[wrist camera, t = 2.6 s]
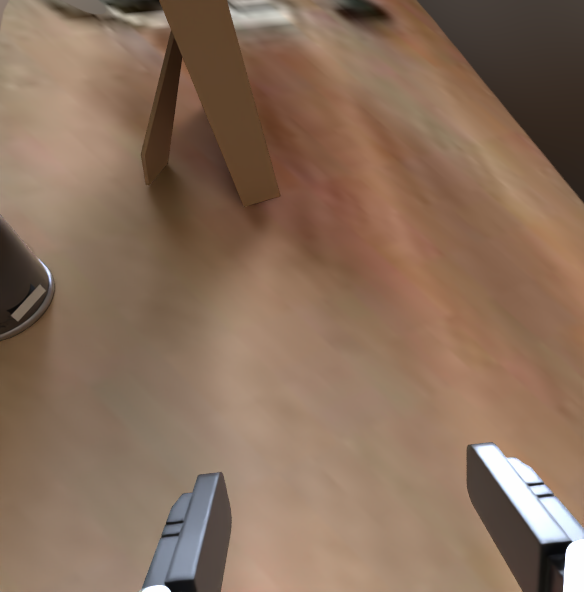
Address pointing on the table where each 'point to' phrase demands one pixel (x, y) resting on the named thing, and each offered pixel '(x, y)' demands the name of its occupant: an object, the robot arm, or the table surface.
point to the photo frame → (210, 97)
